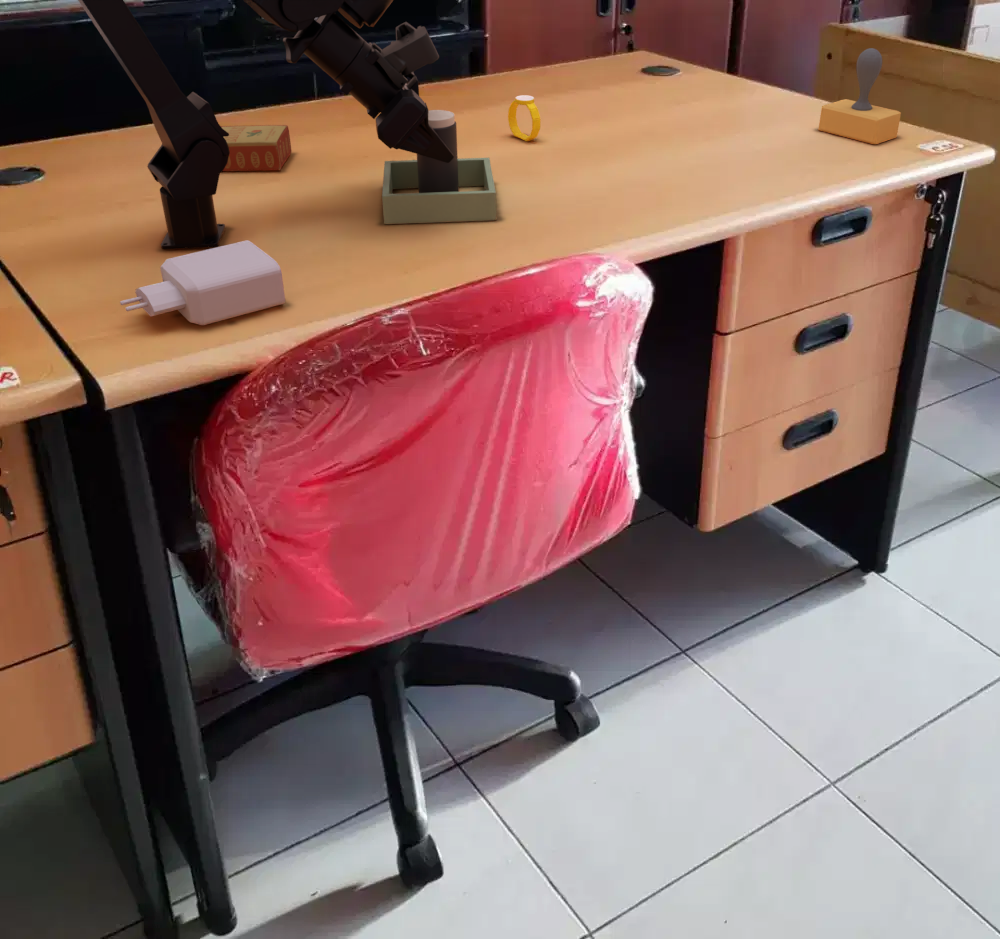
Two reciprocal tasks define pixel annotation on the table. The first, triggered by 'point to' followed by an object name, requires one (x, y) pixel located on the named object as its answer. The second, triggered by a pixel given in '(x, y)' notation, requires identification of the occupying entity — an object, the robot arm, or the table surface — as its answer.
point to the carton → (257, 147)
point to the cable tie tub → (434, 171)
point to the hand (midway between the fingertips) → (447, 148)
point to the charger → (214, 284)
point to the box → (438, 195)
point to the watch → (535, 116)
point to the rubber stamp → (861, 108)
